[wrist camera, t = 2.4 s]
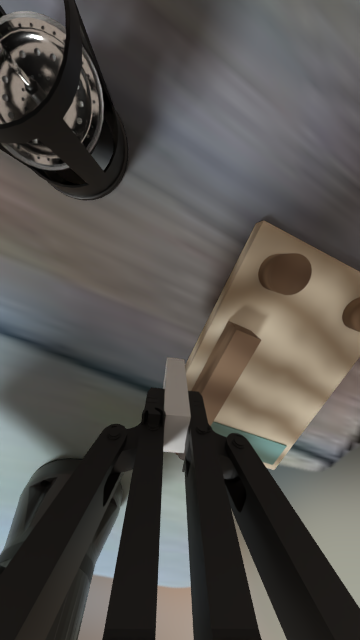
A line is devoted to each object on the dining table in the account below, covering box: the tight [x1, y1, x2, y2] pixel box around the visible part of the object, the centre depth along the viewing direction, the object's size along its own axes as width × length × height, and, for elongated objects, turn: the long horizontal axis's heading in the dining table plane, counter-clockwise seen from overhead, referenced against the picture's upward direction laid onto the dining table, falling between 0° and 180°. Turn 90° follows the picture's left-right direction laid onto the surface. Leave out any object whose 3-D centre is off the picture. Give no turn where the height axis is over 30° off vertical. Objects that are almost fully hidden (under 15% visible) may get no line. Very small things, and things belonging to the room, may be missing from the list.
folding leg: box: [174, 321, 261, 460], centre depth 24 cm, size 18×3×4 cm, turn 156°
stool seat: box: [185, 221, 360, 470], centre depth 26 cm, size 30×20×5 cm, turn 156°
